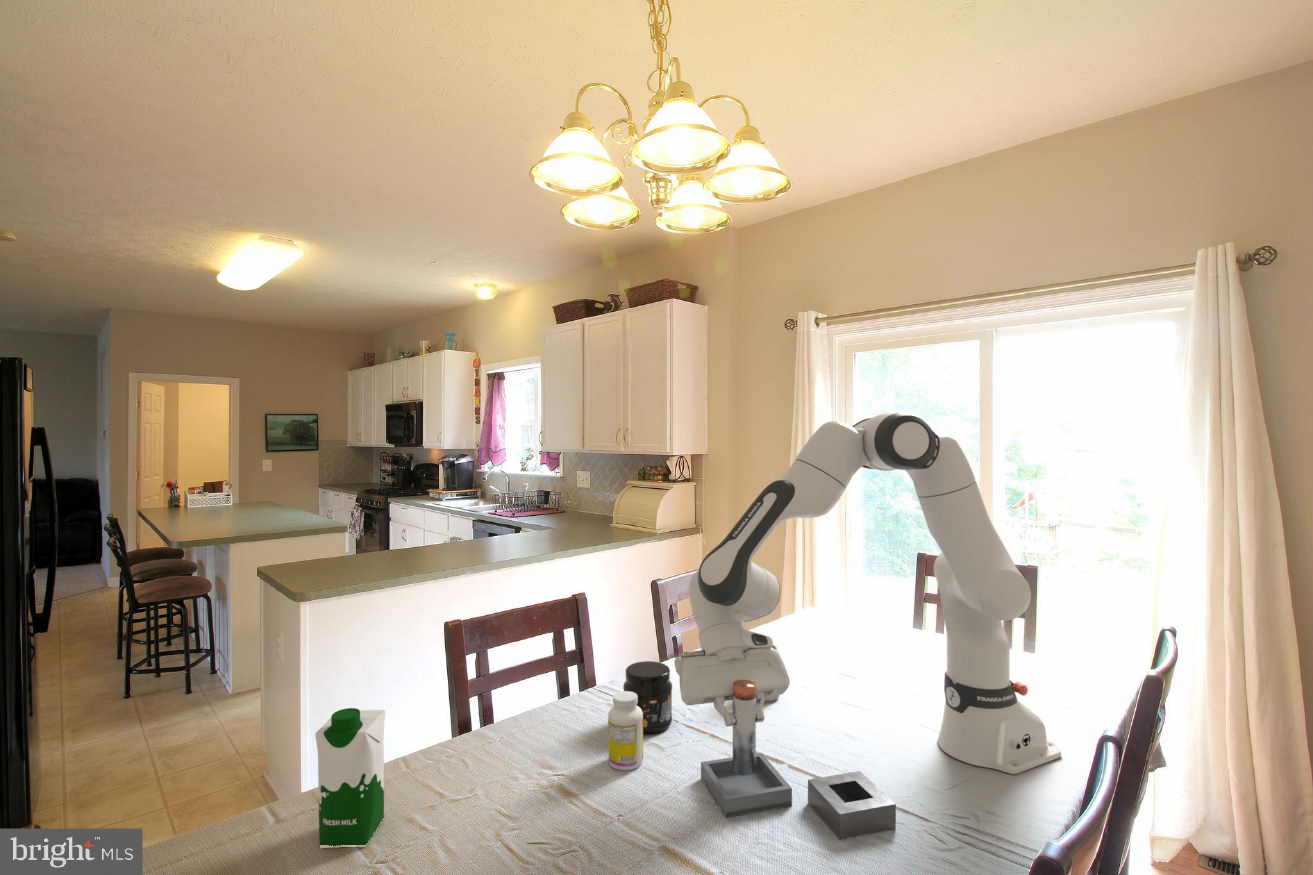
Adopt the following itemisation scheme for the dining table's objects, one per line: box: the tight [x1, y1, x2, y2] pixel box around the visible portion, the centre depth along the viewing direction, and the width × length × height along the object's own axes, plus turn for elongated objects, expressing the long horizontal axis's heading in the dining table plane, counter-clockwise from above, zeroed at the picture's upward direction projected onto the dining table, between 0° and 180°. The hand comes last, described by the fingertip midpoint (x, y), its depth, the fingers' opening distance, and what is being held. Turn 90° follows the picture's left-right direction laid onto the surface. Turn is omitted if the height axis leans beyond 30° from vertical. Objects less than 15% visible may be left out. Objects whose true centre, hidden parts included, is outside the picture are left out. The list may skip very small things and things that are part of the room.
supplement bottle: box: [607, 690, 644, 771], centre depth 121 cm, size 7×7×13 cm
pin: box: [732, 680, 757, 776], centre depth 111 cm, size 4×4×15 cm
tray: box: [700, 752, 793, 818], centre depth 111 cm, size 12×12×3 cm
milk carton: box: [314, 707, 386, 846], centre depth 100 cm, size 9×9×20 cm
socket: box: [807, 770, 897, 841], centre depth 104 cm, size 10×10×4 cm
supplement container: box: [622, 660, 673, 735], centre depth 136 cm, size 10×10×12 cm
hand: (745, 723), depth 110 cm, fingers closed on pin, 4 cm apart
